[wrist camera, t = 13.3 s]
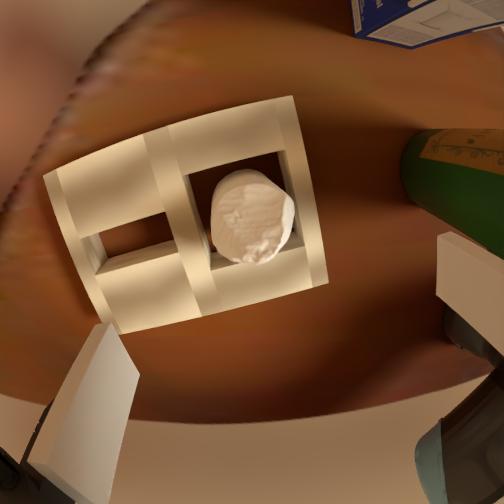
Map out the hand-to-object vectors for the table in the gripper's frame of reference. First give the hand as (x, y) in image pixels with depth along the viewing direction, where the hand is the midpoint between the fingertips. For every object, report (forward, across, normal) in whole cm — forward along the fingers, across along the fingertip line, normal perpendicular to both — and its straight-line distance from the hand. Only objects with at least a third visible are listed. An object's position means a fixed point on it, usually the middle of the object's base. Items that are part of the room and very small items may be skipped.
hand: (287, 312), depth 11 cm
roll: (+18, 0, -1) cm, 18 cm away
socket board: (+18, +5, -1) cm, 19 cm away
